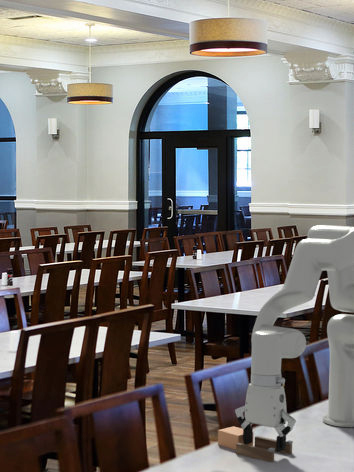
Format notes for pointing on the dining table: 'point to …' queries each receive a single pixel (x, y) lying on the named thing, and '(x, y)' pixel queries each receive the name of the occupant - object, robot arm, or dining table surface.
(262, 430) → the dining table surface
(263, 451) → the brown wooden rail pair
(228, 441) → the light orange block
